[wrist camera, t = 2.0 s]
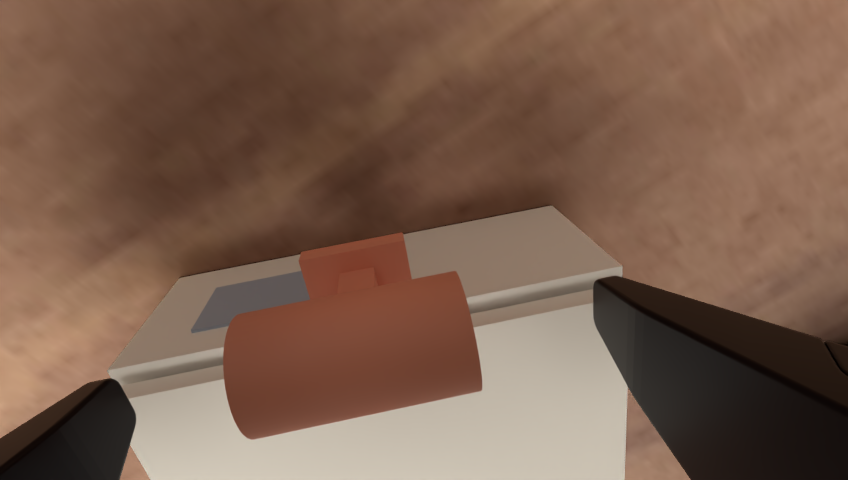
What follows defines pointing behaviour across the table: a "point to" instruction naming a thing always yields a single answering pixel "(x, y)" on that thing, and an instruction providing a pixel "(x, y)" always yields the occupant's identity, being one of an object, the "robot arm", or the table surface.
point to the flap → (391, 385)
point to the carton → (427, 255)
